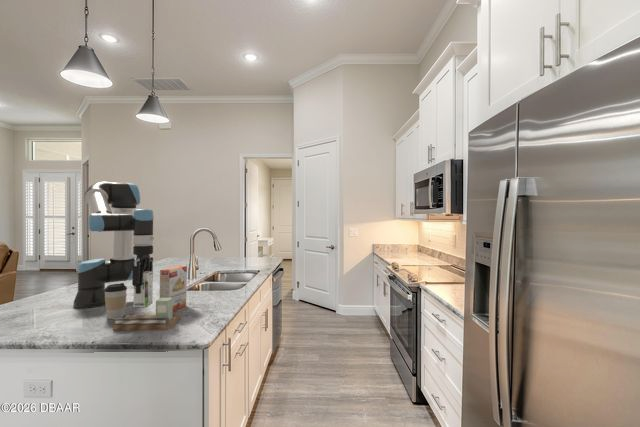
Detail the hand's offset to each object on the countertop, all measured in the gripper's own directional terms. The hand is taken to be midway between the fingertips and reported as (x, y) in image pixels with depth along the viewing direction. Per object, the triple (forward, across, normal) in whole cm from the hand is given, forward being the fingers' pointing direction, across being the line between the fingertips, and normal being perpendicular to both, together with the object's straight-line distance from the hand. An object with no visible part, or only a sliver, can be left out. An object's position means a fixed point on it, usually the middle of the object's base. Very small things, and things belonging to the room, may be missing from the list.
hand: (143, 298), depth 140 cm
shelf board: (+11, +1, -2) cm, 11 cm away
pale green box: (+9, 0, -9) cm, 13 cm away
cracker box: (+11, +23, -4) cm, 26 cm away
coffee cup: (+11, +12, +18) cm, 25 cm away
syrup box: (+3, 0, 0) cm, 3 cm away
